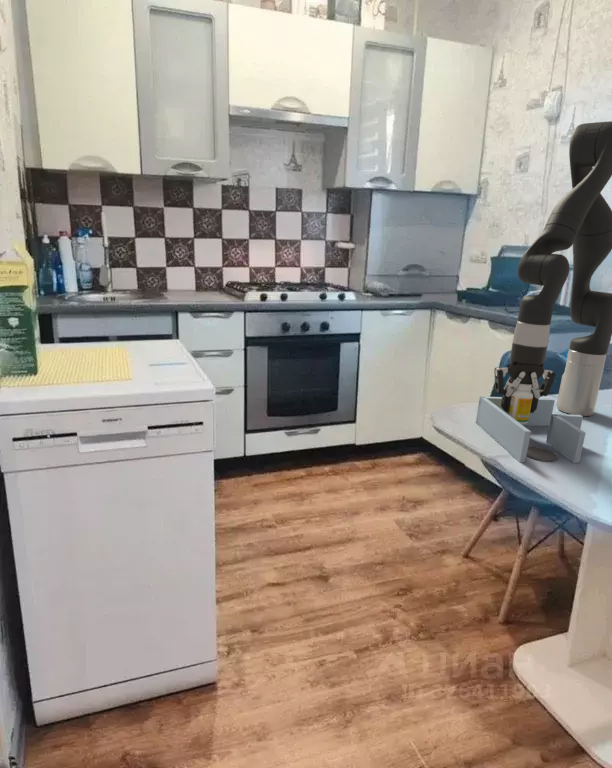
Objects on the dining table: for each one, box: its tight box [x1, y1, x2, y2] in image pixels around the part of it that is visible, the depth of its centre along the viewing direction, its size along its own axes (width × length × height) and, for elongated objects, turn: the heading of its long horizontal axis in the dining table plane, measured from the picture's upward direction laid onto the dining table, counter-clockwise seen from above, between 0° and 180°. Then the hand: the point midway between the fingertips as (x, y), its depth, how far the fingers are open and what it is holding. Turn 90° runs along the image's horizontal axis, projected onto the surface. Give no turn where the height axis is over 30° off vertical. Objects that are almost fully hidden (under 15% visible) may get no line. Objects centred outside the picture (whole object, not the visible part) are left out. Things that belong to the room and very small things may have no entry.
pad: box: [526, 446, 558, 463], centre depth 119 cm, size 7×7×1 cm
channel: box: [475, 396, 586, 464], centre depth 126 cm, size 24×19×7 cm
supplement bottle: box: [506, 384, 533, 424], centre depth 129 cm, size 5×5×10 cm
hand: (517, 410), depth 129 cm, fingers closed on supplement bottle, 5 cm apart
